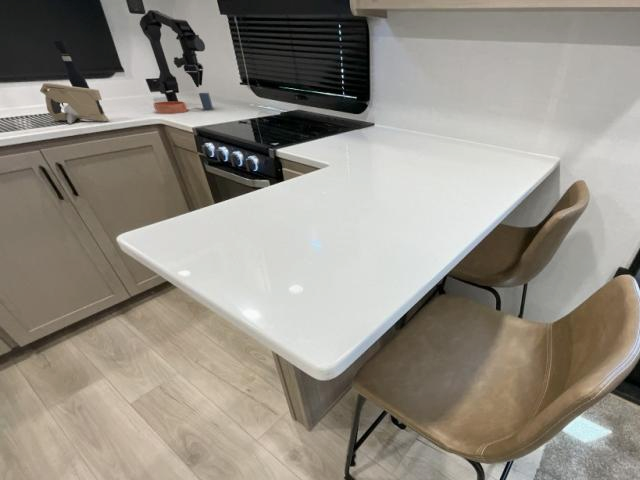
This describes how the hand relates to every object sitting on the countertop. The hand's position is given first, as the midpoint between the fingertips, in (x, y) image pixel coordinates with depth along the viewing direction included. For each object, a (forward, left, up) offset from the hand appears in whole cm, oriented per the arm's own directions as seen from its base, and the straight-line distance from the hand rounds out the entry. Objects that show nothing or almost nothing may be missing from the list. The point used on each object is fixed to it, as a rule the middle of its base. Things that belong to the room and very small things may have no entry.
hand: (199, 86), depth 181 cm
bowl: (+5, -17, -11) cm, 21 cm away
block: (+1, +1, -11) cm, 11 cm away
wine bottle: (+5, -54, -11) cm, 55 cm away
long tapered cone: (+26, -53, -11) cm, 60 cm away
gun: (+29, -49, -11) cm, 58 cm away
